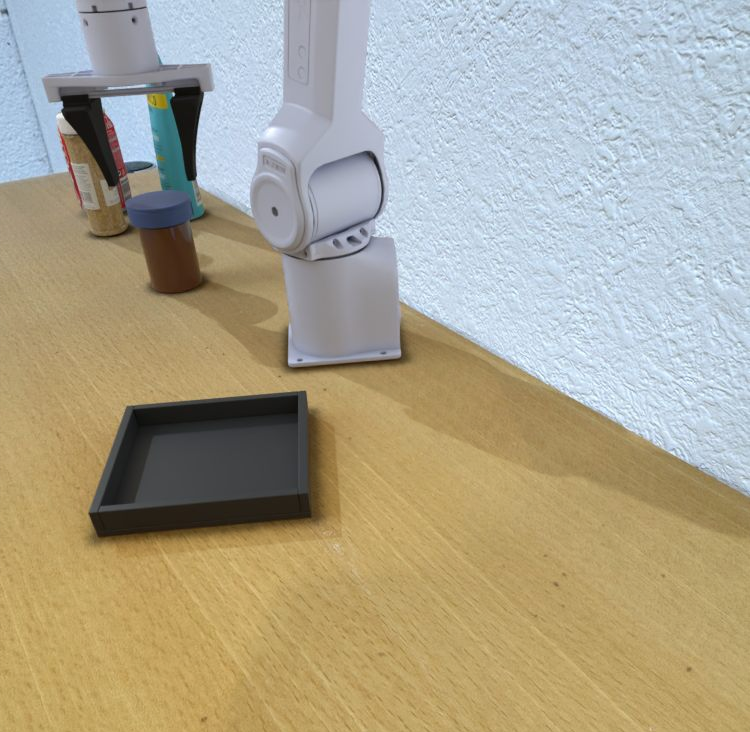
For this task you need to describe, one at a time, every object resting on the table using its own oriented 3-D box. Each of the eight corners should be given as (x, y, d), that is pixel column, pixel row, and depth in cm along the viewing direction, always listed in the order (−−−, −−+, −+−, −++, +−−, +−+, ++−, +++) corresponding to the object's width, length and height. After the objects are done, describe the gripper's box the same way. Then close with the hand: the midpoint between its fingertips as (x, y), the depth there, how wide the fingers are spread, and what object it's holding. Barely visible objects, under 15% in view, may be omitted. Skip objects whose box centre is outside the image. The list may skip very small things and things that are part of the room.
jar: (204, 272, 76) (188, 194, 71) (199, 291, 72) (181, 209, 67) (156, 275, 76) (136, 197, 70) (148, 295, 72) (127, 214, 66)
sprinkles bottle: (133, 231, 87) (101, 111, 79) (97, 240, 85) (60, 117, 77) (122, 222, 90) (90, 105, 82) (86, 230, 88) (50, 112, 80)
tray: (309, 412, 53) (306, 390, 51) (311, 517, 43) (308, 492, 42) (133, 428, 52) (126, 405, 51) (97, 537, 43) (87, 513, 41)
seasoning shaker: (82, 206, 97) (52, 109, 89) (134, 199, 98) (109, 103, 90) (81, 221, 91) (50, 119, 84) (136, 214, 93) (110, 113, 85)
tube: (159, 212, 93) (119, 41, 81) (194, 205, 95) (159, 37, 82) (178, 227, 88) (137, 47, 76) (213, 219, 90) (180, 42, 77)
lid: (197, 206, 72) (194, 188, 71) (190, 226, 67) (186, 206, 66) (136, 211, 72) (131, 192, 70) (124, 231, 67) (119, 211, 66)
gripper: (204, 0, 62) (231, 164, 70) (39, 11, 61) (87, 175, 70) (195, 7, 56) (226, 184, 65) (14, 18, 56) (69, 195, 64)
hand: (153, 181), depth 67 cm, fingers open, 7 cm apart
